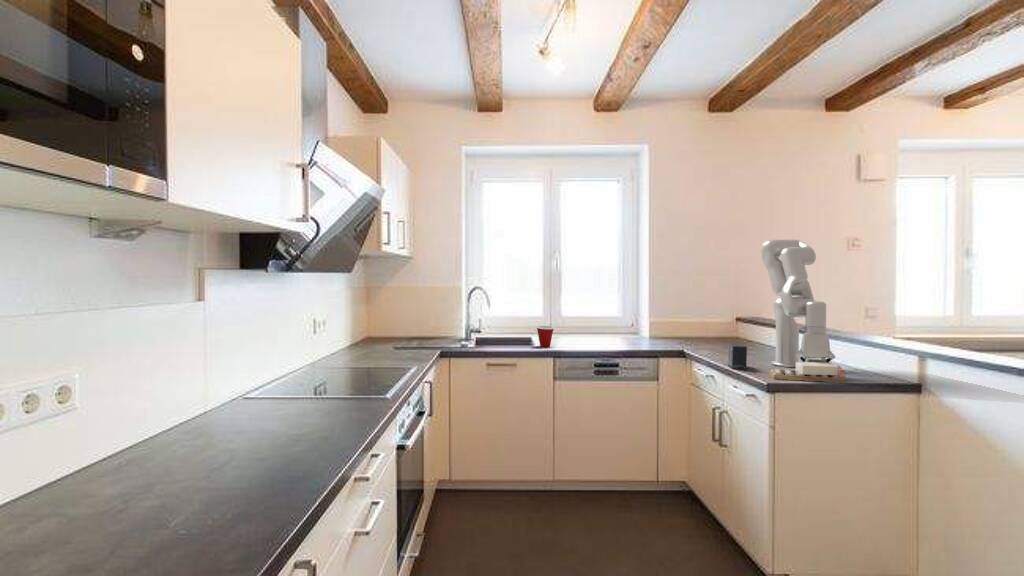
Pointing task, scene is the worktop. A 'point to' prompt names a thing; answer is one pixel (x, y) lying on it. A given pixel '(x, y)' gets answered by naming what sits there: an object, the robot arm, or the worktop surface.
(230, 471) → the worktop surface
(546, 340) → the plastic cup
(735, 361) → the small box
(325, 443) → the worktop surface
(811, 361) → the walnut block
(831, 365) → the slab
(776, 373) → the roller bed
